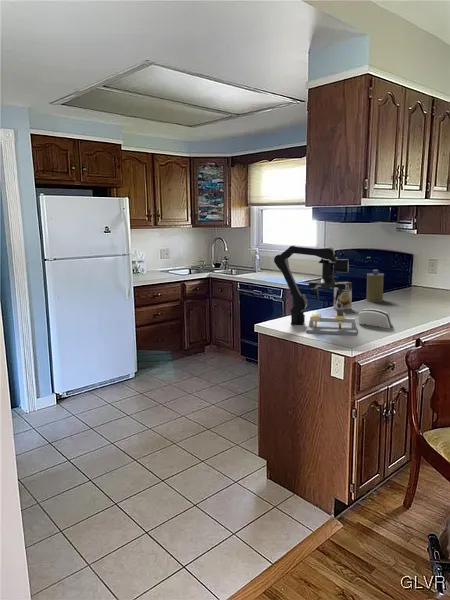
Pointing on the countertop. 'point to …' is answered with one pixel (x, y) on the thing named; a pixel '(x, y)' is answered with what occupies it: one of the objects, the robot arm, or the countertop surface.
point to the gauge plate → (331, 326)
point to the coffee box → (343, 297)
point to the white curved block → (375, 318)
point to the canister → (375, 286)
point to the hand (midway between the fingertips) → (326, 301)
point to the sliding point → (340, 315)
